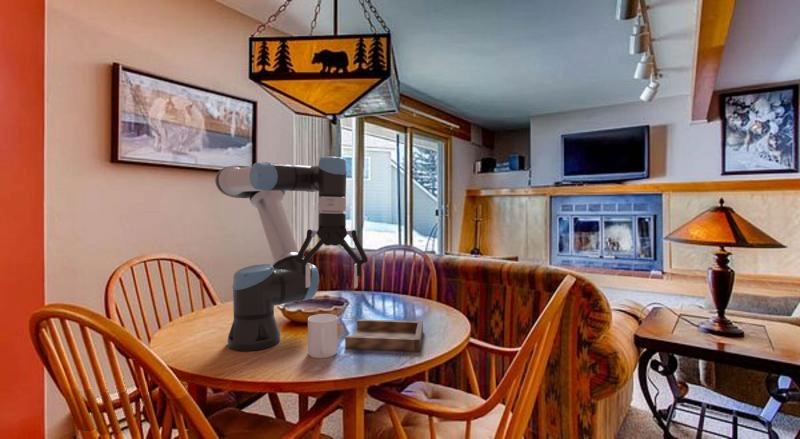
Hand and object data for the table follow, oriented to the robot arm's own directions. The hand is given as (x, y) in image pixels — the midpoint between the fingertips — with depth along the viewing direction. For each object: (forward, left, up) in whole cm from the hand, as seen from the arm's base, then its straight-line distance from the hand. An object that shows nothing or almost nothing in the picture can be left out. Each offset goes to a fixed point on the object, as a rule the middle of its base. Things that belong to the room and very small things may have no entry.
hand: (331, 287), depth 114 cm
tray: (+14, +13, -19) cm, 27 cm away
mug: (-2, -2, -19) cm, 20 cm away
